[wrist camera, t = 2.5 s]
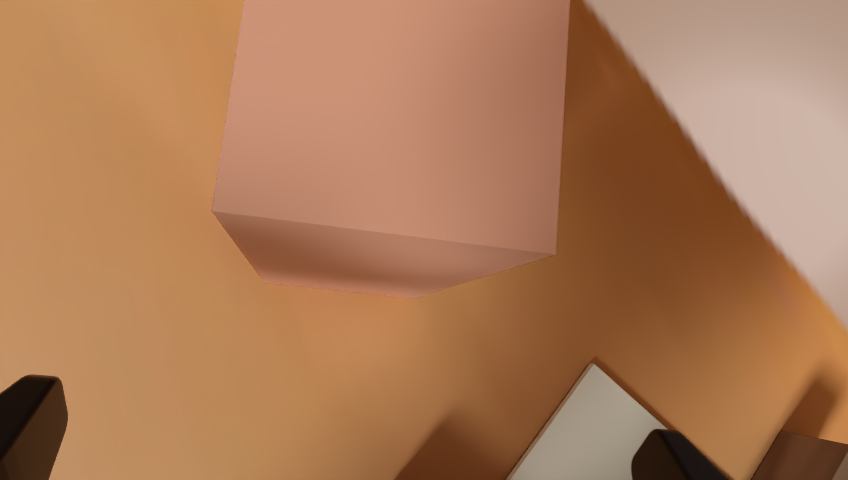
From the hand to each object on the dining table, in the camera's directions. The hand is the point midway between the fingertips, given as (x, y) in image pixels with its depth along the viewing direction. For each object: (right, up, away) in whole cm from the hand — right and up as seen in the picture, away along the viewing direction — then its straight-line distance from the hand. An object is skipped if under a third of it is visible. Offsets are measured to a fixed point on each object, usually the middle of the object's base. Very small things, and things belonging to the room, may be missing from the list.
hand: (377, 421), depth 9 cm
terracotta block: (-2, +4, +11) cm, 12 cm away
